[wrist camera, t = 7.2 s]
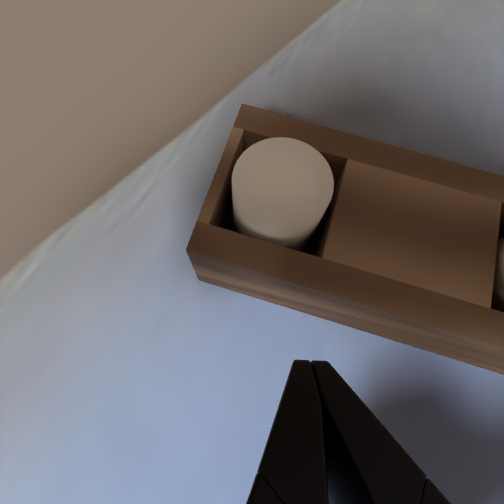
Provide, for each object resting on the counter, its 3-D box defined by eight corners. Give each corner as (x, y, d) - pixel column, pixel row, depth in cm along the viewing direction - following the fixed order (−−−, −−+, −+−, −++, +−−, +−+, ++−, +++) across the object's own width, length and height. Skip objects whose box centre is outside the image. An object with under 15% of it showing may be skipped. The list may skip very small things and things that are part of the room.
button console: (531, 382, 22) (630, 385, 17) (198, 279, 24) (185, 249, 18) (539, 247, 25) (627, 209, 20) (241, 161, 27) (242, 103, 21)
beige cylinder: (299, 275, 23) (320, 241, 17) (223, 252, 24) (217, 211, 18) (319, 205, 25) (343, 152, 19) (247, 184, 25) (249, 126, 19)
